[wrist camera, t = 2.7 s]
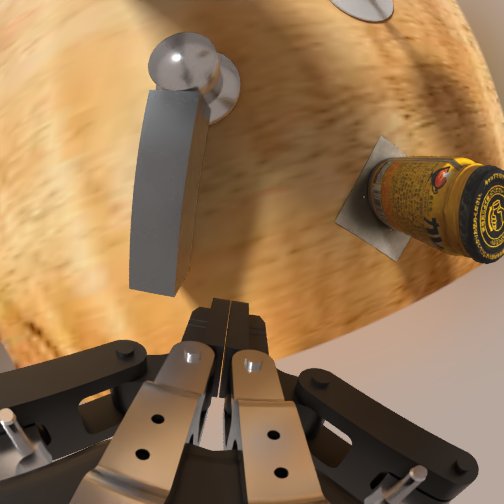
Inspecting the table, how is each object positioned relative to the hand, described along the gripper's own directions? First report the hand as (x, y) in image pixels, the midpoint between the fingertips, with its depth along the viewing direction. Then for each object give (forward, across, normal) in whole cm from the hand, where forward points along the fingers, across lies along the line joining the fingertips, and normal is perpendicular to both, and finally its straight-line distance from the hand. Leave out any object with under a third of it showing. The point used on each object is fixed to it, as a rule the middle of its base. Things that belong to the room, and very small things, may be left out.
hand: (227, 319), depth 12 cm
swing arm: (+10, +5, -6) cm, 13 cm away
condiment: (+11, -12, -7) cm, 18 cm away
